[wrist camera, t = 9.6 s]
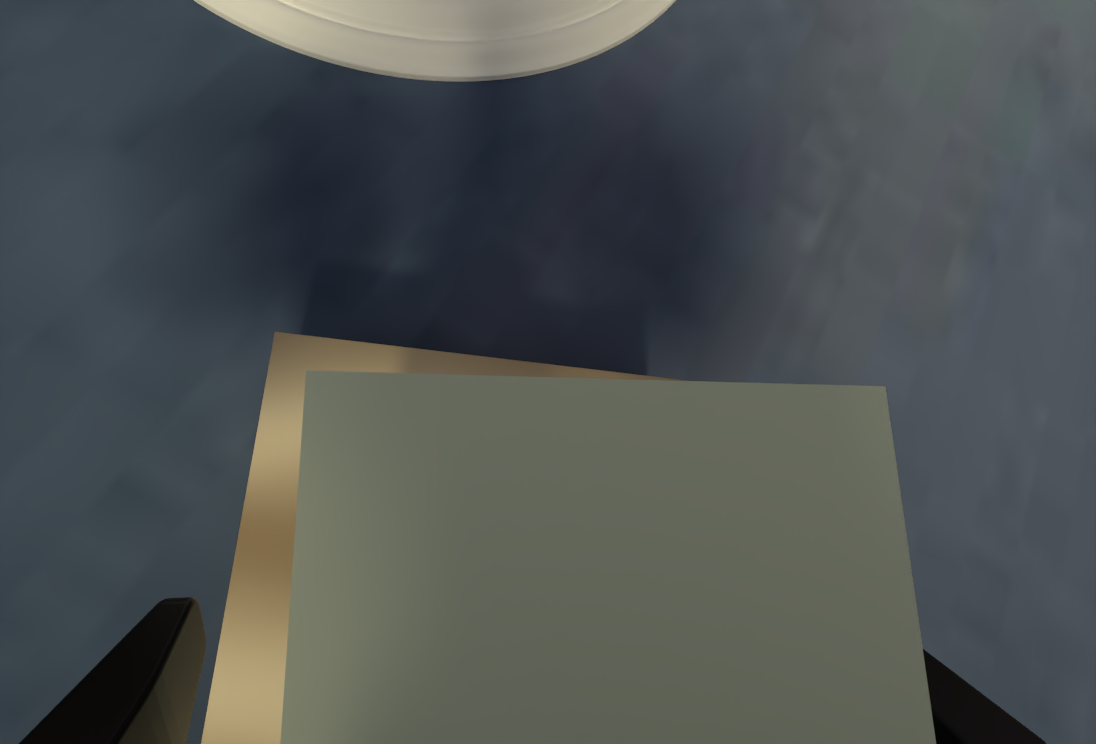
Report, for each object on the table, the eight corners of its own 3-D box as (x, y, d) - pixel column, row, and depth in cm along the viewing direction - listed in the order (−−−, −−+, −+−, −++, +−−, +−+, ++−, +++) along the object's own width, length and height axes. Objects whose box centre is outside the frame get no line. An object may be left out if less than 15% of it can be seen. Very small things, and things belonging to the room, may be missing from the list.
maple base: (638, 778, 20) (677, 821, 17) (222, 780, 17) (185, 831, 14) (648, 398, 23) (683, 380, 20) (293, 358, 20) (275, 331, 17)
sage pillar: (565, 667, 17) (980, 1053, 5) (372, 680, 16) (246, 1222, 4) (560, 479, 18) (885, 386, 6) (380, 480, 17) (306, 370, 5)
